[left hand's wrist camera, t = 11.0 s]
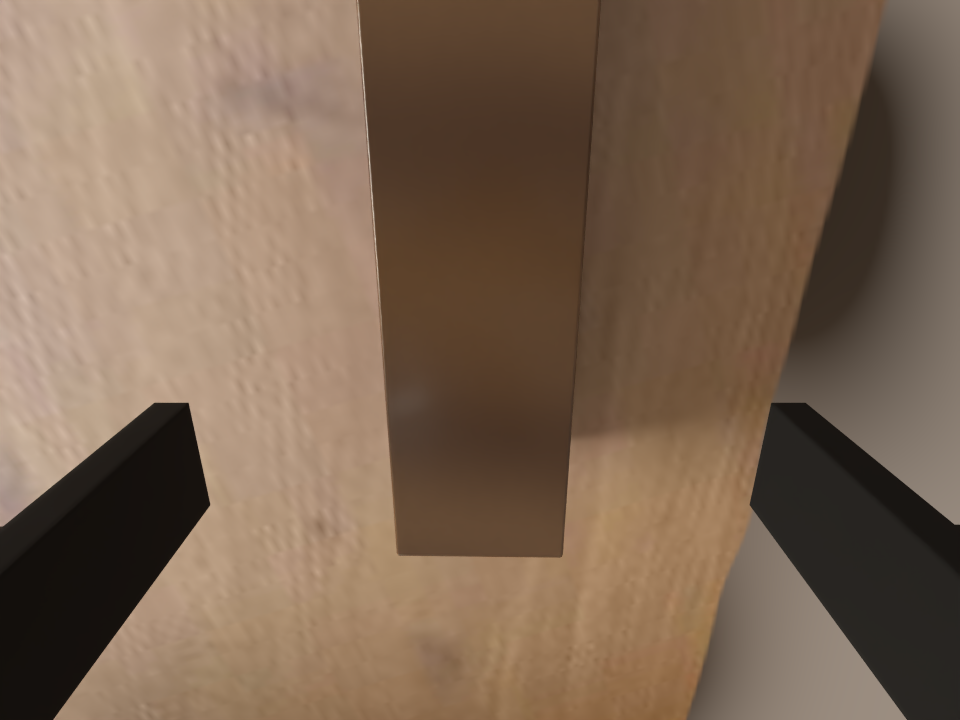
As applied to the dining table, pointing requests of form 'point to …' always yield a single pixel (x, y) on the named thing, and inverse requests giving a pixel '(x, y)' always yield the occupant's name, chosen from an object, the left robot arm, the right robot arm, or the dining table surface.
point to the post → (479, 260)
